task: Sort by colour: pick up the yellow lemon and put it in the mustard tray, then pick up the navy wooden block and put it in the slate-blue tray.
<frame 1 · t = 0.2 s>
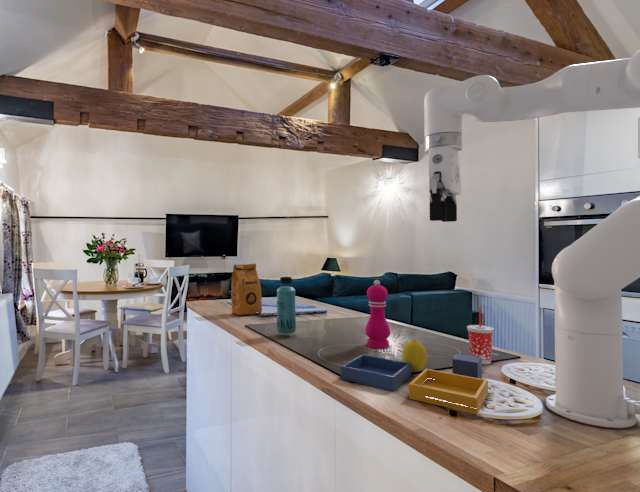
hand: (443, 220, 90), 37 cm above the worktop, tool pointing down, fingers open, 9 cm apart
pepper mill: (377, 346, 122), on the worktop
blue tray: (376, 377, 95), on the worktop
mustard tray: (448, 396, 84), on the worktop
lemon: (414, 373, 98), on the worktop
beverage cup: (480, 362, 106), on the worktop
beverage bottle: (286, 336, 136), on the worktop
coffee package: (246, 314, 176), on the worktop
navy block: (467, 379, 93), on the worktop
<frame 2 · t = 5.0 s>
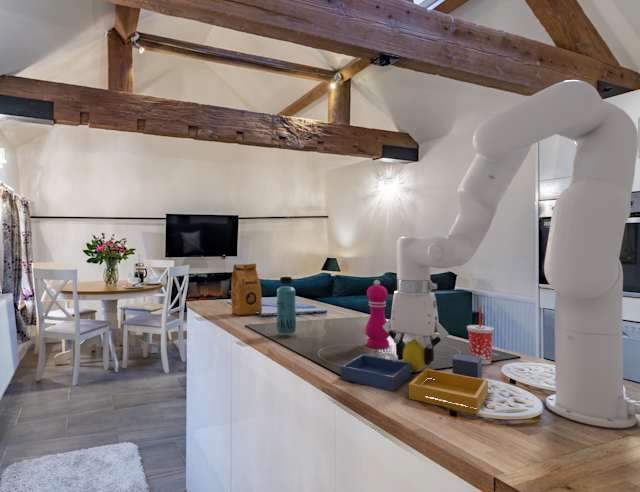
hand: (414, 360, 98), 3 cm above the worktop, tool pointing down, fingers closed on lemon, 5 cm apart
lemon: (414, 373, 98), on the worktop, touching gripper
everything else where it was.
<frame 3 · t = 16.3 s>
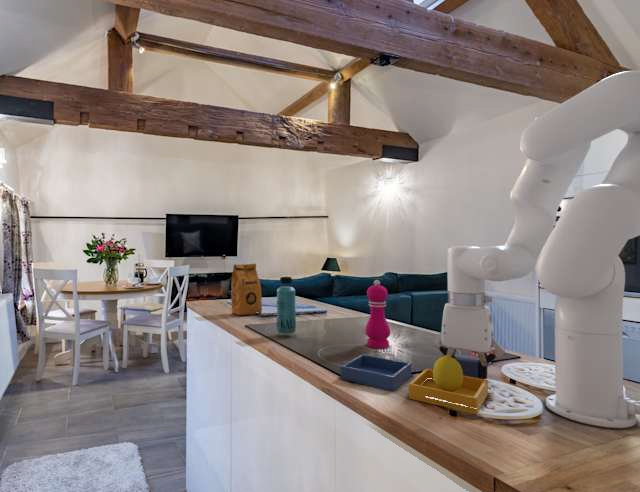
hand: (467, 377, 93), 0 cm above the worktop, tool pointing down, fingers closed on navy block, 5 cm apart
lemon: (448, 394, 84), resting on mustard tray
navy block: (467, 379, 93), on the worktop, touching gripper
everything else where it was.
when the fingers open (2 cm above the worktop, at t = 24.6 s): navy block stays where it is, resting on blue tray.
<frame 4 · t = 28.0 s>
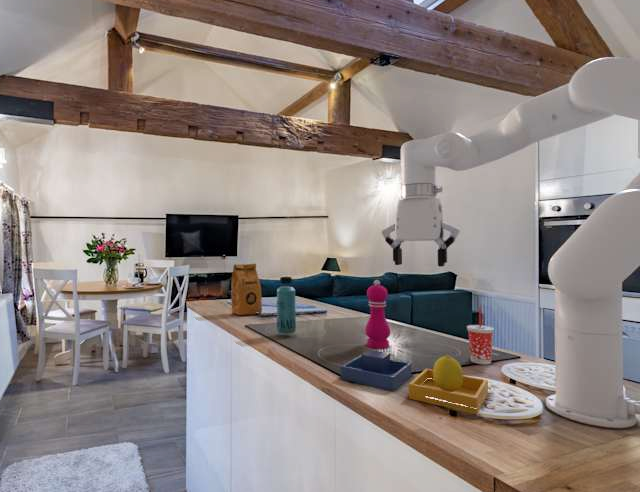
hand: (419, 265, 96), 26 cm above the worktop, tool pointing down, fingers open, 9 cm apart
navy block: (376, 375, 95), resting on blue tray
everything else where it was.
at the end: lemon inside the target area in the mustard tray (0.1 cm from its centre), point 0.3 cm above the mustard tray's base; navy block inside the target area in the blue tray (0.1 cm from its centre), point 0.5 cm above the blue tray's base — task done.
